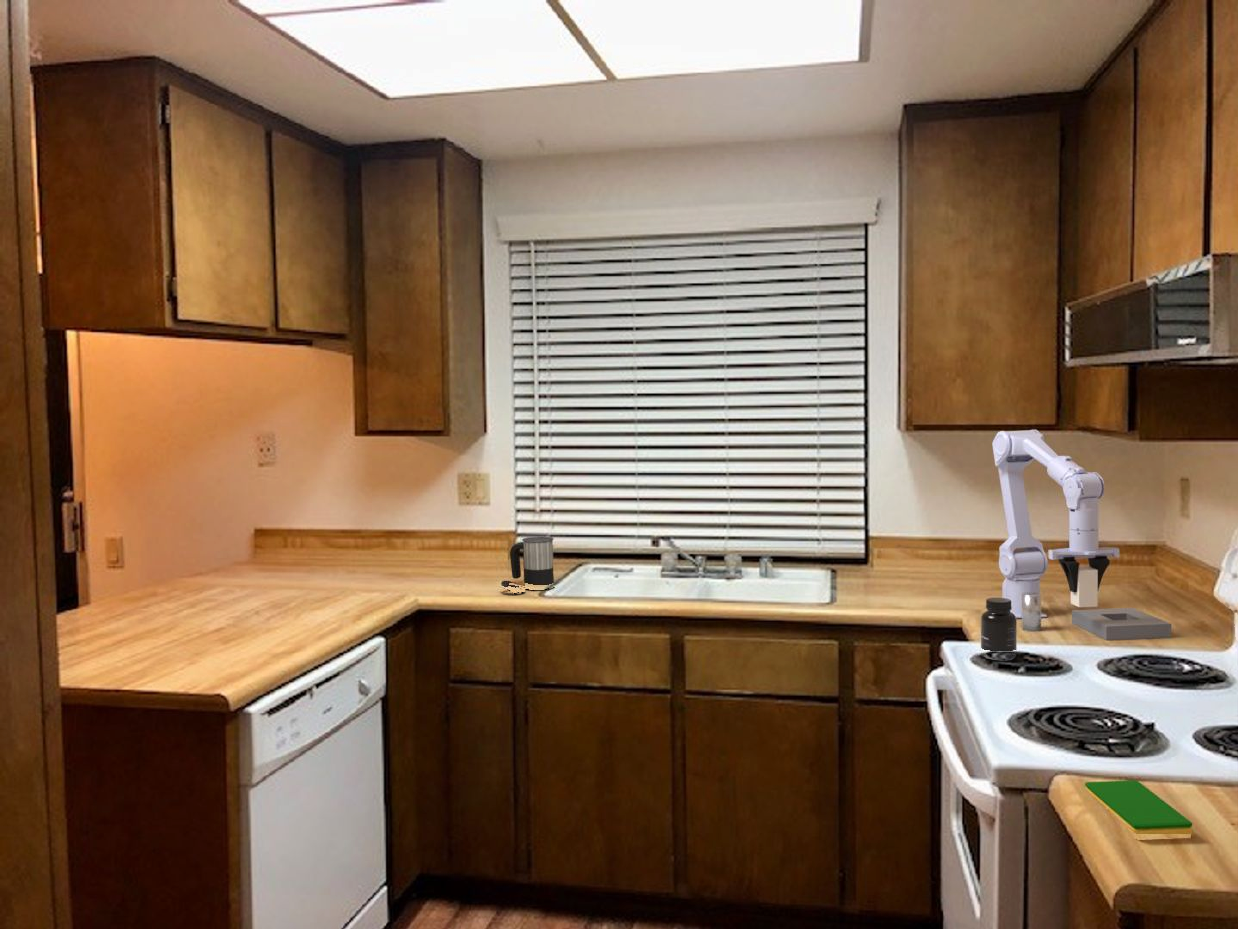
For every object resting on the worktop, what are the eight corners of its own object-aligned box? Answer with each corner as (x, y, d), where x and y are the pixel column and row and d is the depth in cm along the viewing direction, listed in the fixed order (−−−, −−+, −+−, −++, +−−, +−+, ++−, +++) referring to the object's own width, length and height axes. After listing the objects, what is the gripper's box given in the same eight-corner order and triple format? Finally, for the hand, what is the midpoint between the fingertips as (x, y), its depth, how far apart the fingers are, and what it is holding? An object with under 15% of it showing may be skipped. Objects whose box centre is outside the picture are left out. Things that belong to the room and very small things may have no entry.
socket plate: (1071, 623, 233) (1071, 610, 233) (1132, 620, 234) (1132, 607, 233) (1106, 640, 217) (1106, 626, 217) (1171, 637, 218) (1171, 623, 217)
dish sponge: (1136, 796, 138) (1136, 779, 138) (1193, 842, 124) (1193, 823, 124) (1084, 799, 138) (1084, 781, 138) (1135, 844, 124) (1135, 825, 124)
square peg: (1070, 603, 223) (1070, 567, 222) (1089, 602, 223) (1088, 566, 222) (1079, 607, 219) (1078, 570, 218) (1097, 606, 219) (1097, 569, 218)
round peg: (1019, 627, 231) (1018, 592, 231) (1036, 626, 231) (1036, 592, 231) (1026, 631, 227) (1026, 596, 227) (1044, 631, 227) (1044, 595, 227)
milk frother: (558, 585, 303) (556, 535, 302) (546, 596, 288) (544, 544, 286) (512, 585, 305) (510, 536, 304) (498, 596, 290) (495, 544, 289)
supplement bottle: (974, 658, 207) (974, 600, 206) (990, 651, 212) (989, 594, 211) (1007, 664, 202) (1007, 604, 201) (1022, 657, 207) (1022, 598, 206)
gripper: (1058, 533, 216) (1058, 596, 217) (1126, 530, 216) (1126, 593, 217) (1044, 528, 223) (1044, 589, 224) (1110, 525, 223) (1110, 587, 224)
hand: (1083, 591), depth 221 cm, fingers closed on square peg, 4 cm apart
